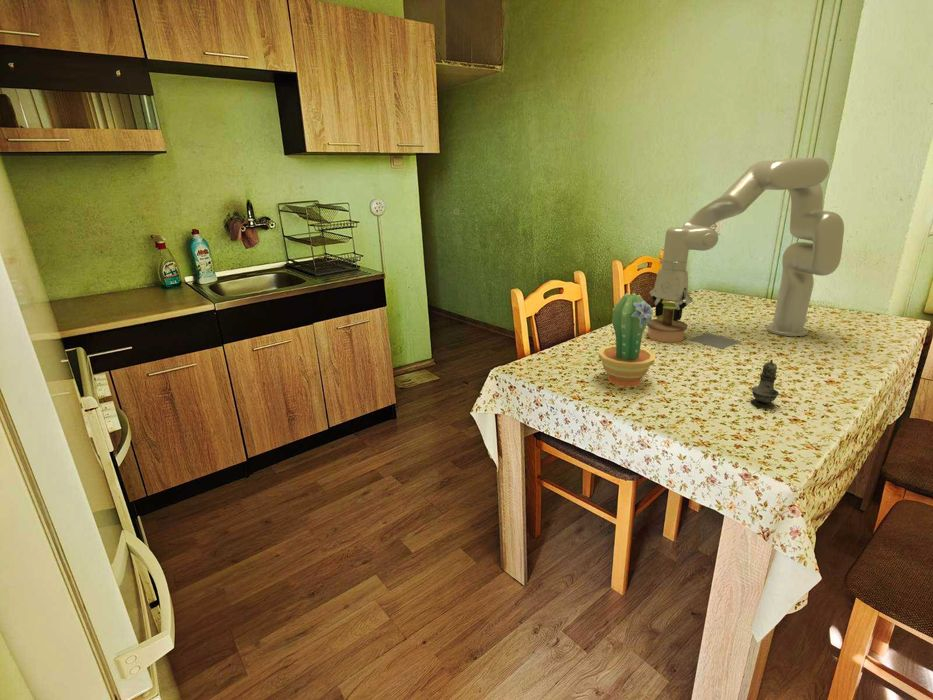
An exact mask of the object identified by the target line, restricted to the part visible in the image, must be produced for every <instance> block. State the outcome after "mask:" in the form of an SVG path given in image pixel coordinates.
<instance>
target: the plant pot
mask: <svg viewBox="0 0 933 700" xmlns="http://www.w3.org/2000/svg"><path fill="white" fill-rule="evenodd" d="M662 304H663V305H664V306H663V314H664V309H672V310H673V318H674V310H675V309H676V305H675V302H673V301H663V302H662ZM663 314H662V315H660V316H656V319H663ZM673 318H672V319H673Z"/></svg>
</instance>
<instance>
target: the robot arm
mask: <svg viewBox="0 0 933 700" xmlns="http://www.w3.org/2000/svg"><path fill="white" fill-rule="evenodd" d="M829 172H830V165H829V164H828V162H827V161H826V159H824V158H822V157H815V156H814V157H813V156H812V157H790V158H786V159H785V158H784V159H783V160H762V161H761V160H760V161H757V162H755V163H754V164H753V163H752V165H750V167H748V169H746V170H745V172H743V174H742V175H741V176H740V177H739V178H737V179H736V181H734V183H733V184H732V185H731V186H730V187H729V188H728V189H727V190H726V191H725V192H724V193H723V194H722V195H720V196H719V197H717V198H716V199H714V200H713V201H711V202H709V203H708V204H706V205H705V206H703V207H701V208H700V209H698V210H697V211H696V212H695V213H694V214H693V215H691V216H690V218H689V219H688V220H687V221H686V222H685V223H683V225H682V226H674V227H673V226H672V227H669V228H667V229H666V231H665V235H664V236H665V238H664V245H663V246H664V247H663V253H662V254H663V256H662V259H661V260H660V261H659V264H660V265H661V267H660V268H659V270H658V272H657V275H656V278H655V281H654V287H653V289H651V290H650V291H649V295H650V296H651V298H652V300H653V301H654V305H655V311H654V312H655V313H654V316H655V317H657V316H660V315H662V314H663V306H664V305H663V304H662V302H665V301H667V302H673V303H675V305H676V309H675V310H674V318H673V320H674V321H677V320H678V321H681V318H682V315H683V310H684V309H685V308H686V307H687V306H688V305H690V303H692V302H693V297H691V295H690V294H689V291H688V288H689V274H688V270H687V265H688V264H687V263H688V258H689V252H690V251H691V250H692V251H701V252H703V251H704V252H705V251H708V250H711V249H713V248H714V247H715V246H716V245H717V243H718V241H719V234H718V233H717V231H716V230H715V229H714V228H711V227H712V226H713V225H715V224H716V223H719V222H721V221H723V220H727V219H729V218H733V217H736V216H738V215H741V214H743V213H744V212H745V211H747V209H748V208H749V207H750V206H751V205H752V204H753V203H754V202H755V201H756V200H757V199H758V198H759V197H760V196H762V194H763V193H764V192H766V190H769V191H778V190H779V191H783V190H787V191H788V194H789V195H790V202H791V203H790V219H789V220H790V221H789V233H790V235H791V236H792V237H794V238H796V239H798V240H799V239H800V240H806V241H812V242H805V241H799V242H793V243H792V244H790V245H789V246H787V247H786V249H785V250H784V251H783V253H782V263H781V265H782V270H781V271H782V272H781V280H780V286H779V289H778V296H777V300H776V305H775V309H774V315H773V320H772V323H771V324H768V325H766V328H765V329H766V331H768V332H770V333H772V334H775V335H779V336H784V337H793V336H794V337H797V336H800V337H805V335H806V336H807V335H808V334H809V330H808V329H807V328H805V324H806V323H808V319H807V314H808V311H809V307H810V306H809V305H810V302H811V298H812V292H813V290H814V283H815V282H814V275H816V276H822V277H823V276H828V275H831V274H832V273H834V272H835V271H836V270H837V269H838V267H839V265H840V263H841V259H842V253H843V243H844V235H845V222H844V220H843V217H841V215H840V214H838V213H836V212H833V211H830V210H828V211H827V210H824V209H823V203H824V201H823V200H824V198H823V197H824V195H823V194H824V193H823V187H822V185H821V183H823V182H824V181H825V180H826V179H827V177H828V175H829Z"/></svg>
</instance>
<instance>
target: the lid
mask: <svg viewBox="0 0 933 700" xmlns="http://www.w3.org/2000/svg"><path fill="white" fill-rule="evenodd" d="M672 318H673V310H672V309H664V314H663V319H657V318H654V319H653V318H652V320H651V324H649V322H647V325H646V327H648V329H649V328H651V329H654V330H658V331H665V332H680V331H684V332H685V331H686V330H687V329H688V324H687V323H686V322H684V321H681V320H677V321H674V320H673V319H672Z"/></svg>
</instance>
